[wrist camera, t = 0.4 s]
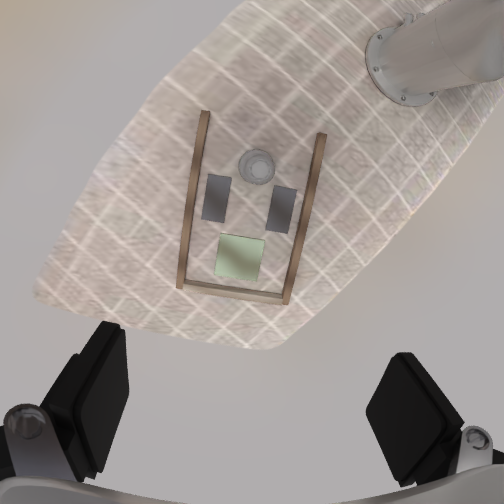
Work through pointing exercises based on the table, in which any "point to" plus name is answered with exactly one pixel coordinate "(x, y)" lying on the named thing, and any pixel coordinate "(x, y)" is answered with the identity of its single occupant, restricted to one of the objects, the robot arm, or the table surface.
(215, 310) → the table surface
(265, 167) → the rook chess piece
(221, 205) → the wooden u-shaped frame
